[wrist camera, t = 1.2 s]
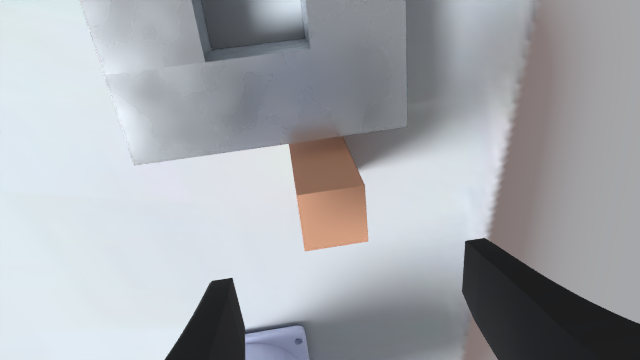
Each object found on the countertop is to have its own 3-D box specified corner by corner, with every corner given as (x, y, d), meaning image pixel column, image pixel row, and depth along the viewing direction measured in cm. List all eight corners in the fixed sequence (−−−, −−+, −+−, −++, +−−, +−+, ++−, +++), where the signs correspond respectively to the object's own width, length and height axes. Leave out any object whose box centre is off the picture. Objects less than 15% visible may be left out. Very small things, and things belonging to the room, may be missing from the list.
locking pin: (343, 176, 23) (368, 241, 18) (294, 183, 23) (304, 251, 18) (339, 129, 22) (364, 185, 17) (287, 137, 22) (296, 195, 17)
